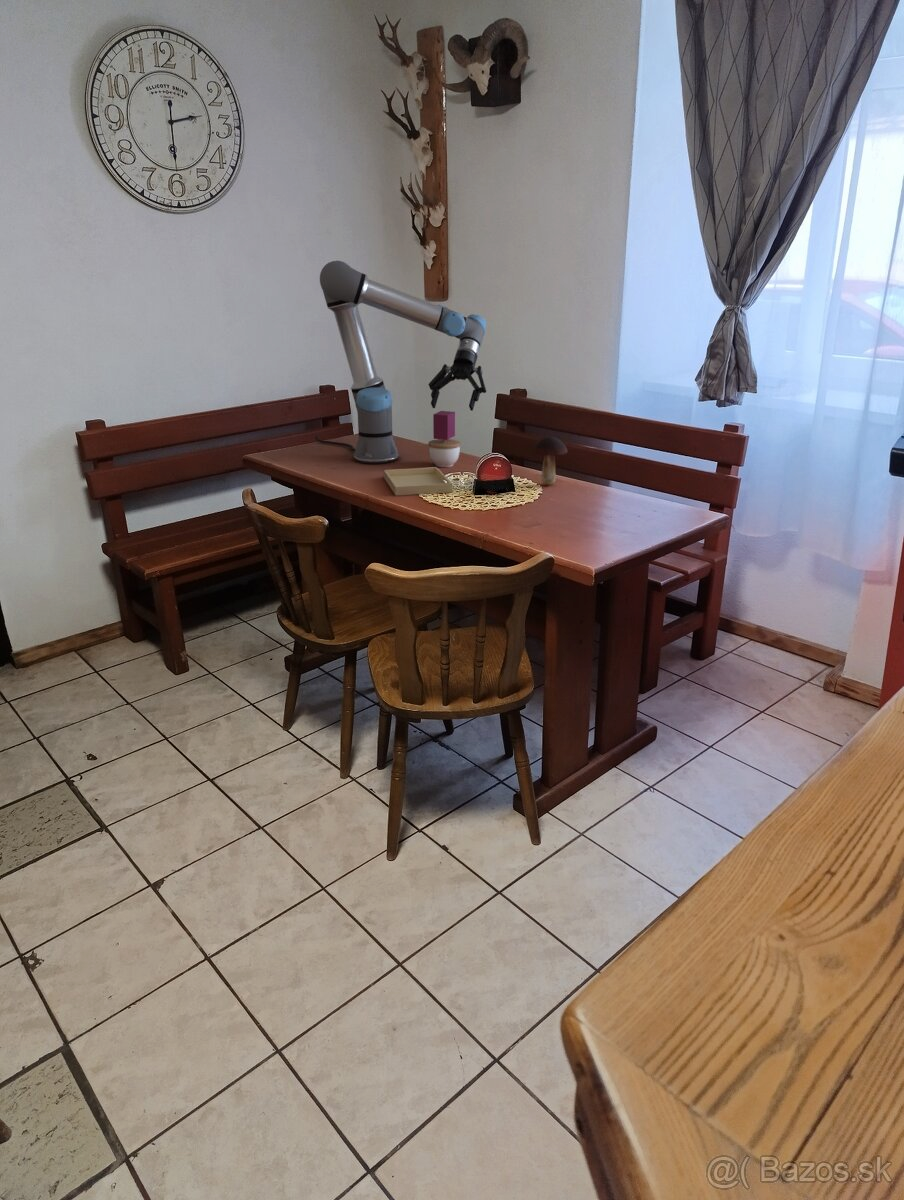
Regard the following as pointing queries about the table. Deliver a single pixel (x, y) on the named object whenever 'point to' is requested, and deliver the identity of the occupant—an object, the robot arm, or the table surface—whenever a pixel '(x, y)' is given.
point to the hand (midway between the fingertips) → (451, 407)
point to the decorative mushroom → (549, 457)
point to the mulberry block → (444, 425)
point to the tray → (417, 481)
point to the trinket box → (444, 452)
